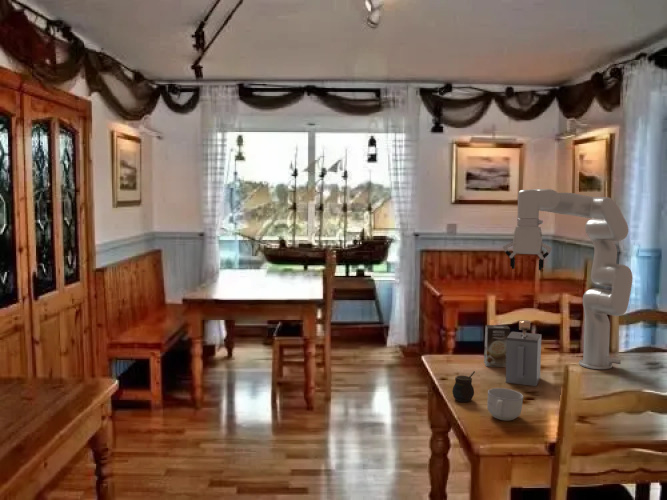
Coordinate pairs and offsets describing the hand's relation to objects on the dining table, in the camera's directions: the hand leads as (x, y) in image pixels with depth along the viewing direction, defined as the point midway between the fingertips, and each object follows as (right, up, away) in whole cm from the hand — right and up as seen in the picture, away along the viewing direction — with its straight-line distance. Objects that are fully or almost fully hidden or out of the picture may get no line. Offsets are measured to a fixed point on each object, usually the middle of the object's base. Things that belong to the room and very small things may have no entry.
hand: (526, 269), depth 232 cm
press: (-1, -42, +2) cm, 42 cm away
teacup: (-19, -46, -36) cm, 61 cm away
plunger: (0, -37, +3) cm, 37 cm away
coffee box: (-5, -40, +24) cm, 47 cm away
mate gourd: (-27, -44, -19) cm, 55 cm away
